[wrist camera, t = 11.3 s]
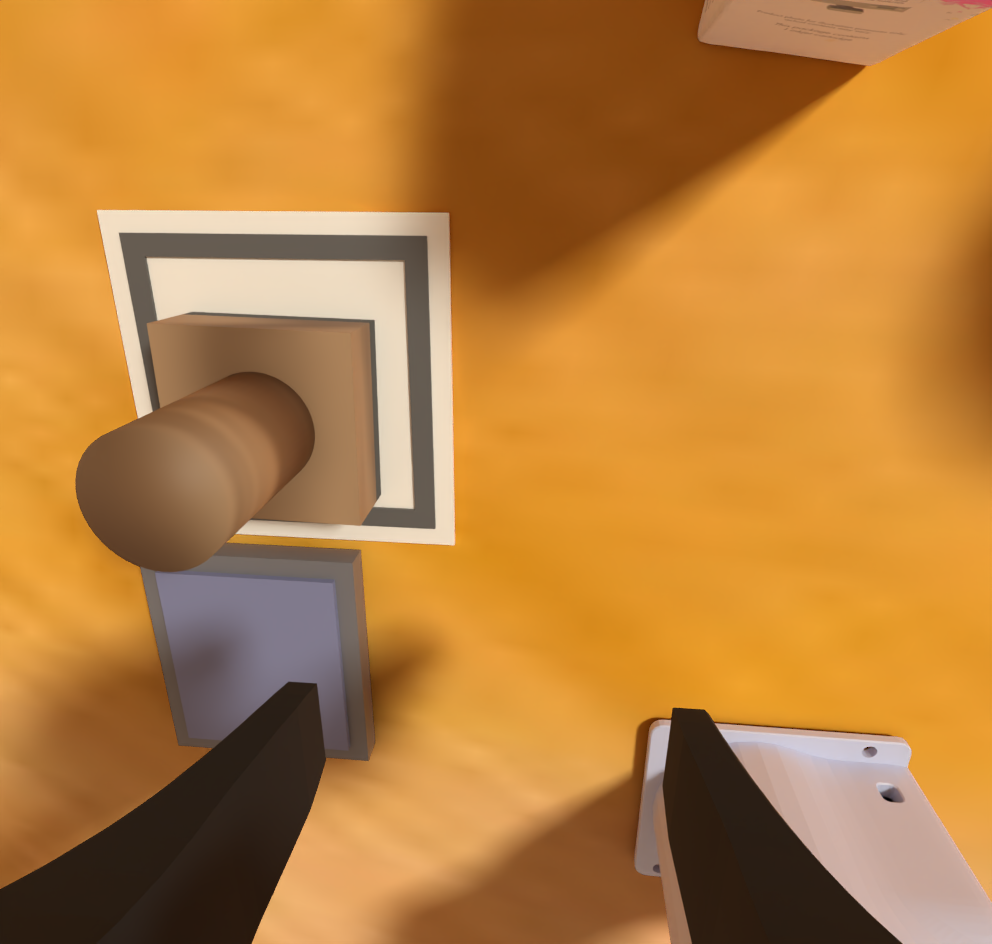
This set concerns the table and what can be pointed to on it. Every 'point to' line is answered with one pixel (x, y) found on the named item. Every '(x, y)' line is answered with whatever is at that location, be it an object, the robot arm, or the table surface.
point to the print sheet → (314, 293)
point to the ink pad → (264, 640)
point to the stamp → (238, 436)
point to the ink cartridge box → (832, 25)
